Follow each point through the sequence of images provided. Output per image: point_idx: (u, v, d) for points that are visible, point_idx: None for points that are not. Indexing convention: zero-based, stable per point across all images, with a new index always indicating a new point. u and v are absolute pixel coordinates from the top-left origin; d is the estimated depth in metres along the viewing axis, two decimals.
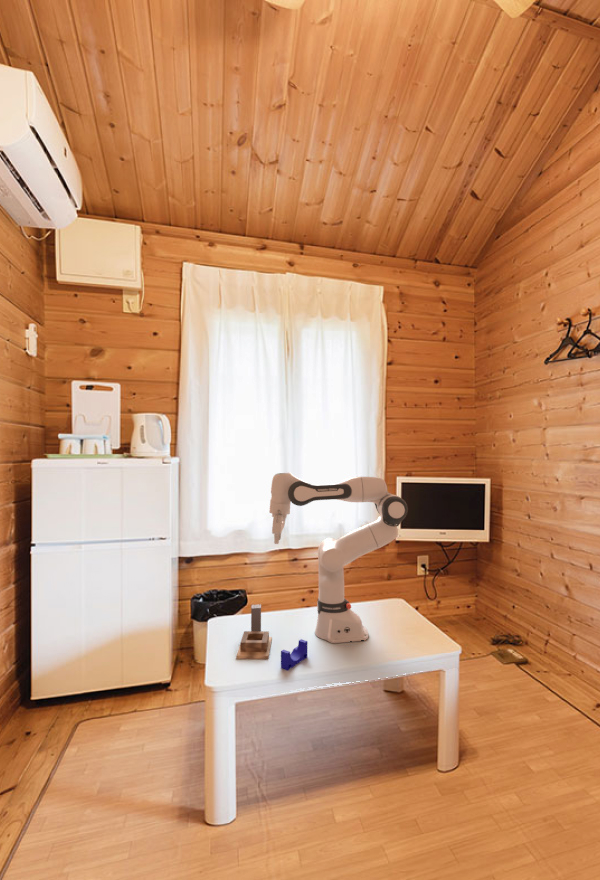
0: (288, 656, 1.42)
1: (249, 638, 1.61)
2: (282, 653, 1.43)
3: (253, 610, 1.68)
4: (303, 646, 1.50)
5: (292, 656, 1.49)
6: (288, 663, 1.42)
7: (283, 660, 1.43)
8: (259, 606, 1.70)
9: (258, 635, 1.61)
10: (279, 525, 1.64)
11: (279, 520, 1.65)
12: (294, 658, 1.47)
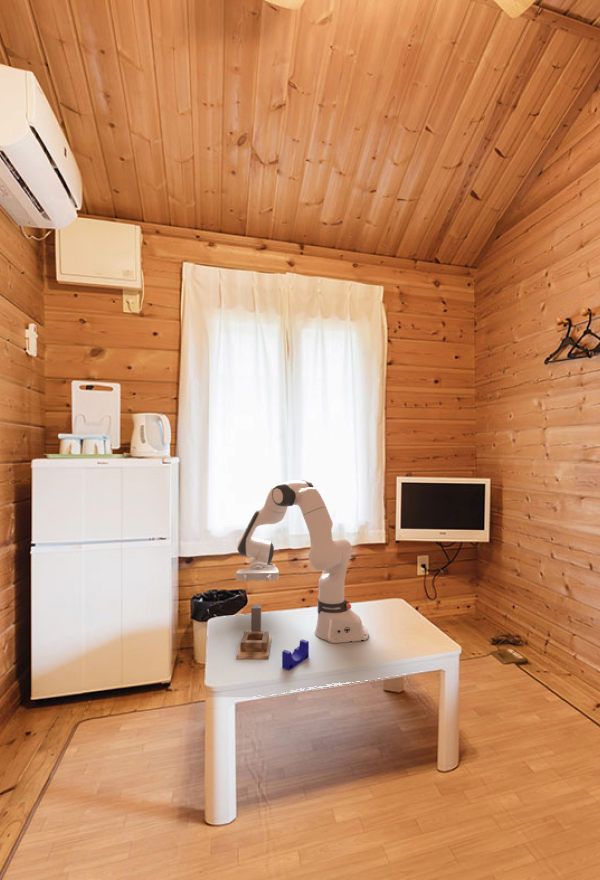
0: (289, 656, 1.42)
1: (249, 638, 1.61)
2: (283, 653, 1.43)
3: (253, 610, 1.68)
4: (304, 646, 1.50)
5: (293, 656, 1.48)
6: (289, 663, 1.42)
7: (284, 660, 1.42)
8: (259, 606, 1.70)
9: (258, 635, 1.61)
10: None
11: None
12: (295, 658, 1.47)
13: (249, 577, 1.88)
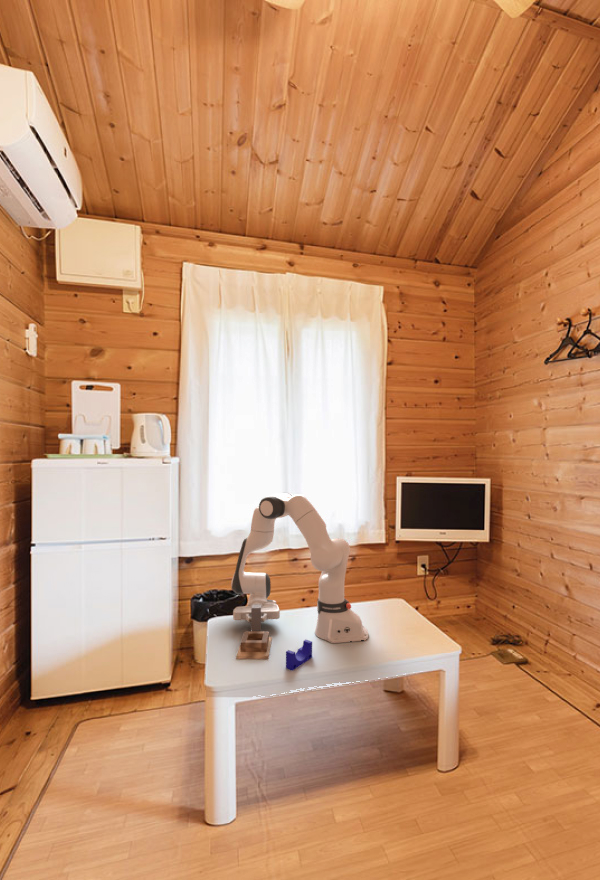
0: (293, 656, 1.42)
1: (249, 638, 1.61)
2: (287, 653, 1.43)
3: (253, 610, 1.68)
4: (308, 646, 1.50)
5: (297, 656, 1.48)
6: (293, 663, 1.42)
7: (288, 660, 1.42)
8: (259, 606, 1.70)
9: (258, 635, 1.61)
10: None
11: None
12: (299, 658, 1.47)
13: None
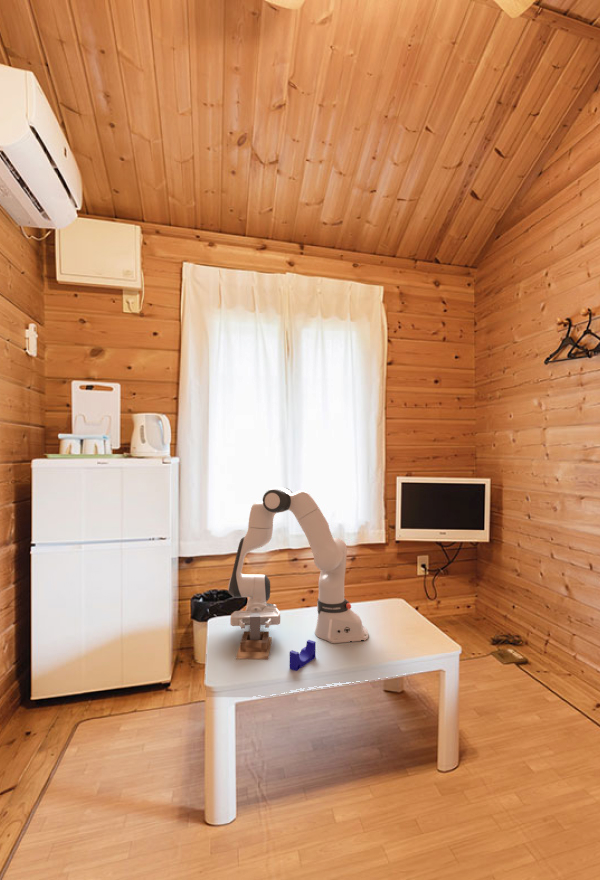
0: (297, 657, 1.42)
1: (249, 638, 1.61)
2: (291, 654, 1.42)
3: (252, 619, 1.56)
4: (311, 646, 1.50)
5: (300, 657, 1.48)
6: (297, 664, 1.41)
7: (292, 661, 1.42)
8: (258, 614, 1.58)
9: None
10: None
11: None
12: (302, 659, 1.47)
13: (246, 622, 1.62)
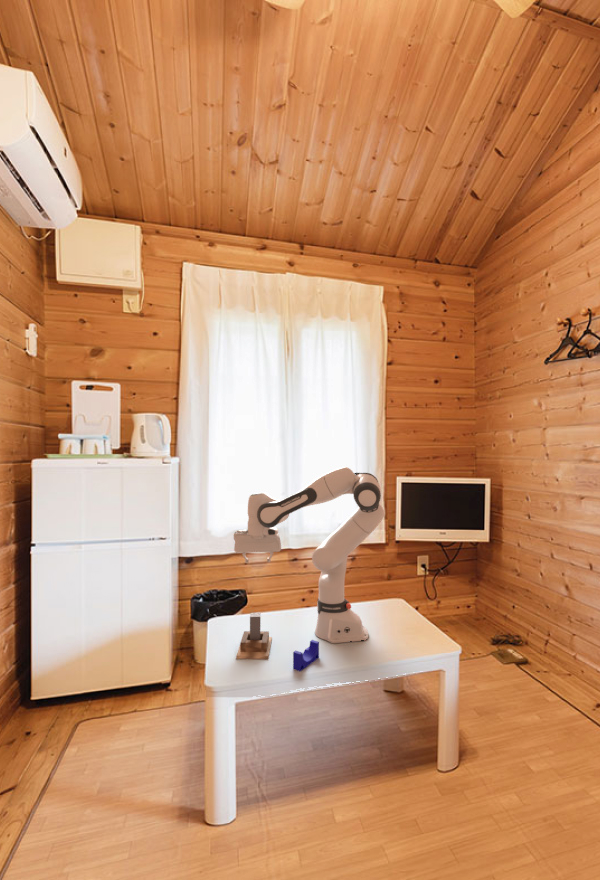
0: (301, 657, 1.41)
1: (249, 638, 1.61)
2: (294, 654, 1.42)
3: (252, 619, 1.56)
4: (315, 647, 1.50)
5: (304, 657, 1.48)
6: (301, 664, 1.41)
7: (295, 661, 1.42)
8: (258, 614, 1.58)
9: None
10: None
11: (235, 539, 1.73)
12: (306, 659, 1.47)
13: None
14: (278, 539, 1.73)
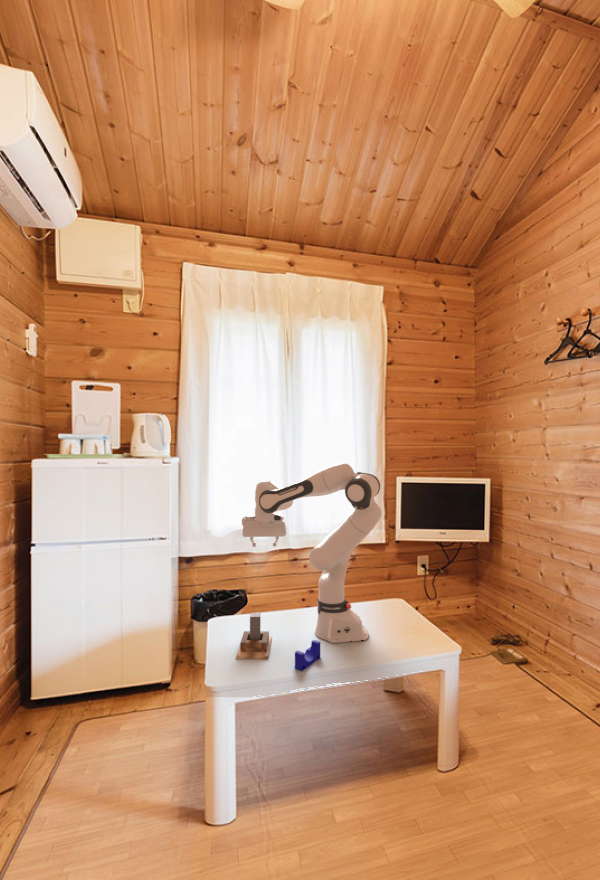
0: (302, 657, 1.41)
1: (249, 638, 1.61)
2: (296, 654, 1.42)
3: (252, 619, 1.56)
4: (316, 647, 1.49)
5: (305, 657, 1.48)
6: (302, 664, 1.41)
7: (297, 661, 1.42)
8: (258, 614, 1.58)
9: None
10: None
11: (243, 524, 1.84)
12: (307, 659, 1.46)
13: None
14: (283, 525, 1.84)
